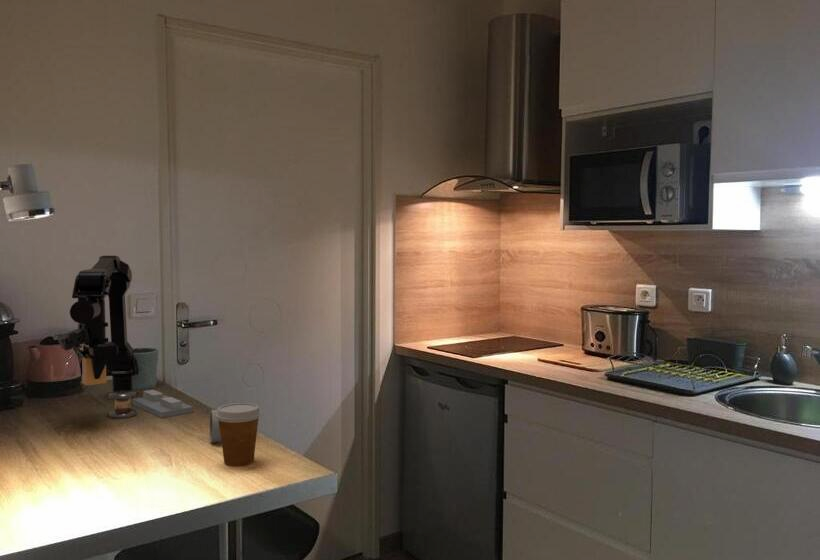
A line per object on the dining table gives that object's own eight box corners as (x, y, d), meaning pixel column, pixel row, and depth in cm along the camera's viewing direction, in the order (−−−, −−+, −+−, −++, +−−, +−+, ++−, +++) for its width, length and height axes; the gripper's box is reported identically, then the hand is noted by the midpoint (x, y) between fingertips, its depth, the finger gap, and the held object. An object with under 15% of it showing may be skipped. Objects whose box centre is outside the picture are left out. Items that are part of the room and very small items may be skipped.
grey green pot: (152, 381, 234) (151, 346, 233) (163, 387, 226) (163, 350, 225) (121, 386, 227) (120, 349, 226) (131, 391, 220) (131, 353, 219)
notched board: (132, 404, 204) (132, 392, 203) (162, 399, 210) (162, 387, 209) (161, 417, 189) (161, 405, 189) (192, 412, 195) (192, 399, 195)
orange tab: (82, 383, 184) (82, 357, 184) (102, 381, 188) (101, 355, 187) (86, 385, 182) (85, 358, 181) (106, 382, 185) (105, 356, 185)
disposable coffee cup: (213, 458, 156) (212, 404, 155) (255, 452, 160) (255, 400, 159) (220, 471, 147) (219, 415, 146) (265, 465, 151) (265, 410, 150)
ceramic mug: (247, 443, 167) (247, 411, 167) (212, 446, 164) (211, 414, 164) (240, 432, 177) (240, 402, 176) (207, 435, 174) (206, 404, 173)
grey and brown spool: (105, 414, 192) (104, 393, 192) (130, 410, 197) (130, 389, 196) (114, 419, 187) (114, 397, 186) (140, 415, 192) (140, 393, 191)
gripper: (49, 317, 185) (51, 376, 186) (71, 324, 171) (73, 388, 172) (93, 314, 193) (95, 371, 194) (118, 321, 179) (119, 381, 180)
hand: (94, 377), depth 185 cm, fingers closed on orange tab, 3 cm apart
